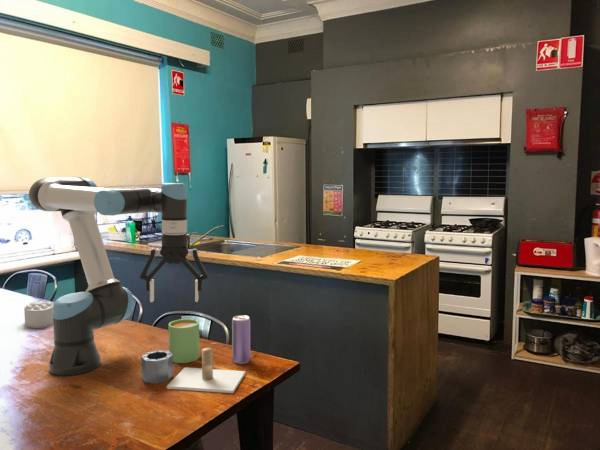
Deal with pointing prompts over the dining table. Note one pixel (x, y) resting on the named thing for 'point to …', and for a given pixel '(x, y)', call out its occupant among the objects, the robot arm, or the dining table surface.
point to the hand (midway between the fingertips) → (174, 301)
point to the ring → (157, 366)
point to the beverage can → (241, 339)
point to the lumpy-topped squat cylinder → (38, 314)
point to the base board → (220, 383)
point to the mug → (184, 340)
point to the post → (207, 364)
